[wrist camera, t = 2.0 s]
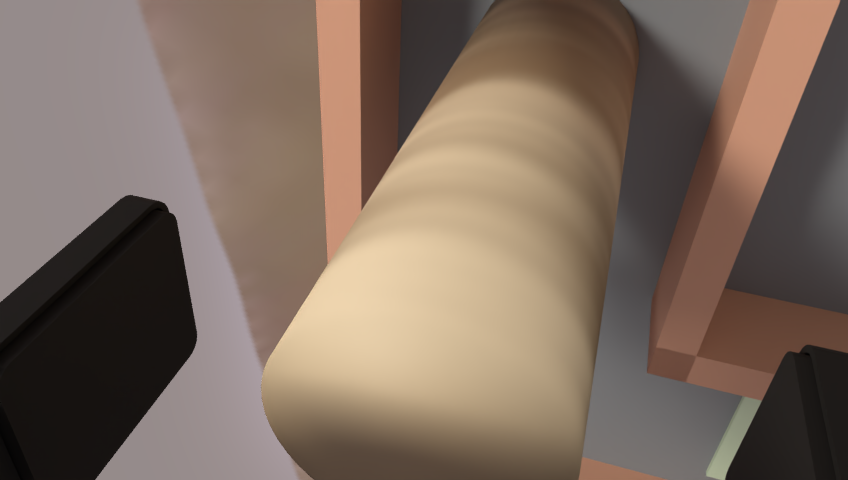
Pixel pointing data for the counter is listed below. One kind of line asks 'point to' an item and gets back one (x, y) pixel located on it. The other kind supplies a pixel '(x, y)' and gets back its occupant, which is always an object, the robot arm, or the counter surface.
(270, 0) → the counter surface
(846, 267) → the track
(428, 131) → the peg
